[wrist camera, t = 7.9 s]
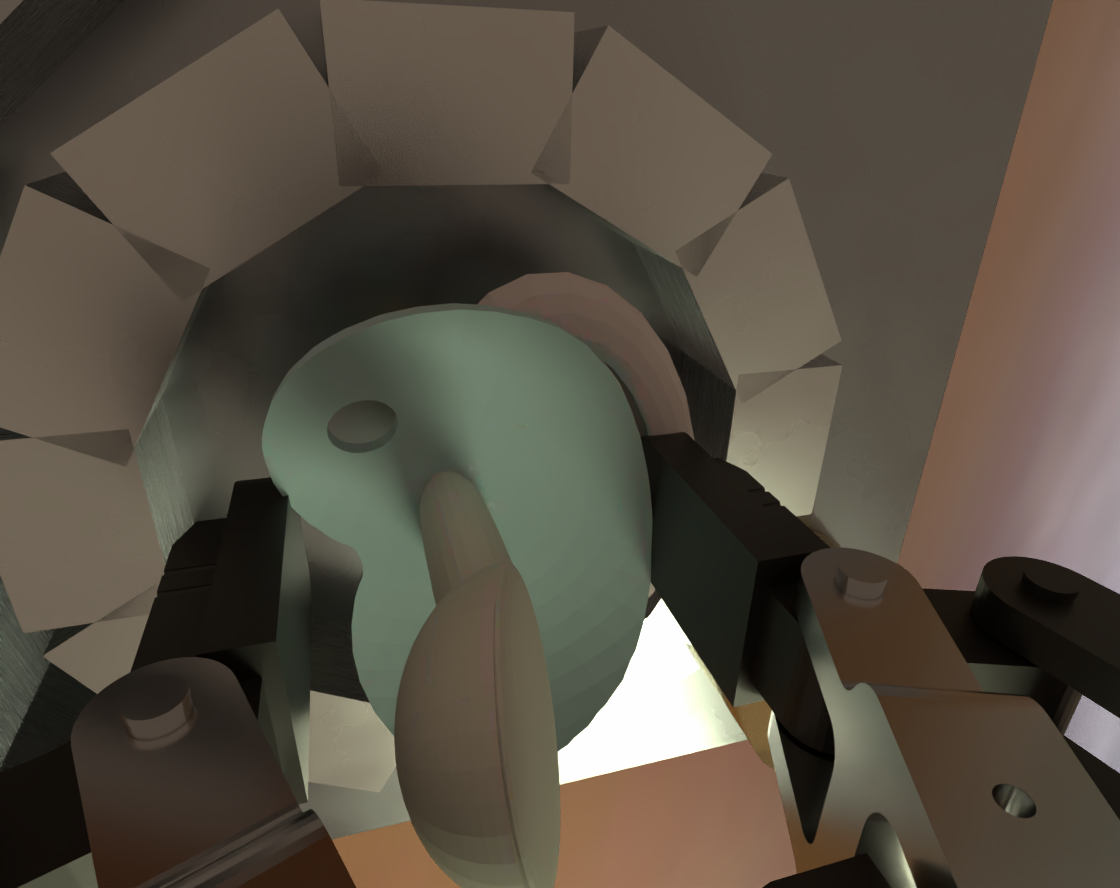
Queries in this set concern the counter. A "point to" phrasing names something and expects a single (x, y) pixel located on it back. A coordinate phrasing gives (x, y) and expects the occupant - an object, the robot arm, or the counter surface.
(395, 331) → the pacifier
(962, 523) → the counter surface
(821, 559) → the robot arm
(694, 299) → the grey ring holder
